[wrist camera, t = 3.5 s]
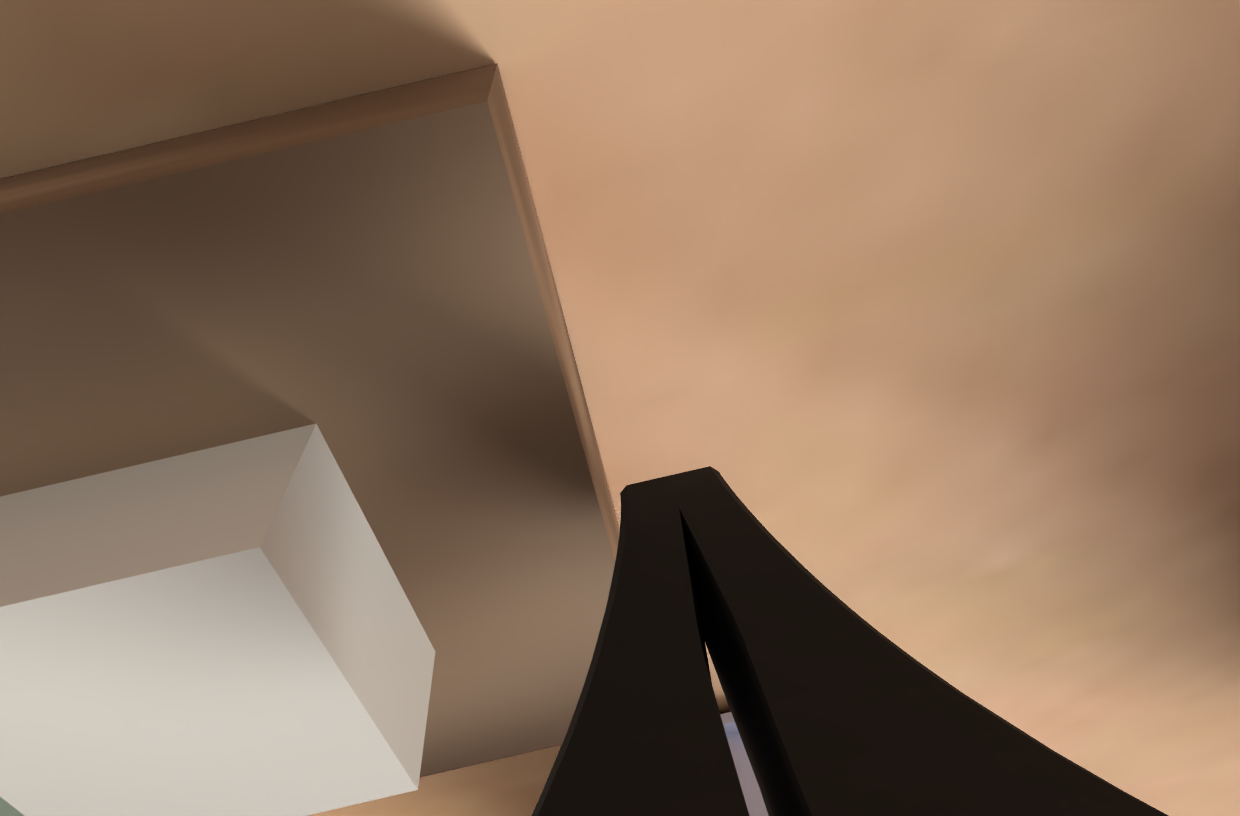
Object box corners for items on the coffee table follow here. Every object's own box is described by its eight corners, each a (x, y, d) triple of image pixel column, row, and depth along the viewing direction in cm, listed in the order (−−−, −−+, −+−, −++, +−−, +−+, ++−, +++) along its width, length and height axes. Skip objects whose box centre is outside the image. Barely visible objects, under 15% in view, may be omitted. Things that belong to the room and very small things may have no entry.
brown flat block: (632, 579, 18) (659, 721, 14) (208, 677, 18) (135, 843, 14) (497, 63, 11) (487, 101, 8) (-169, 217, 11) (-464, 321, 8)
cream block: (435, 651, 12) (418, 790, 10) (161, 715, 12) (88, 866, 10) (315, 423, 10) (260, 547, 8) (-33, 504, 10) (-186, 650, 8)
